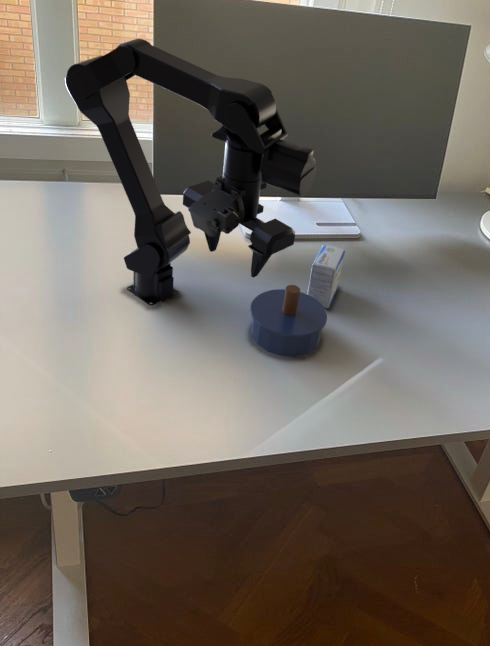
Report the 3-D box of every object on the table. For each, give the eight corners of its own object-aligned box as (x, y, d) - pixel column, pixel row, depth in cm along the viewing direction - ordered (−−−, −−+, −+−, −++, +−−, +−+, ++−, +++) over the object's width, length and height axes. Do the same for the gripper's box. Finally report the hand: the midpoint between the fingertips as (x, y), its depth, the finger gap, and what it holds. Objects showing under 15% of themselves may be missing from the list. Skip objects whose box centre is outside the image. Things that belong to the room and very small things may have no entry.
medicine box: (328, 309, 131) (336, 270, 126) (304, 303, 131) (312, 263, 126) (337, 288, 138) (346, 249, 132) (315, 281, 138) (322, 242, 132)
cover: (233, 312, 118) (236, 284, 114) (284, 285, 127) (289, 258, 123) (292, 350, 113) (297, 322, 110) (341, 320, 122) (347, 293, 118)
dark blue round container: (236, 333, 121) (239, 309, 118) (282, 308, 129) (286, 285, 126) (288, 368, 116) (293, 344, 113) (332, 340, 124) (337, 317, 121)
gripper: (156, 160, 103) (154, 253, 113) (251, 215, 96) (240, 308, 106) (212, 144, 111) (206, 232, 121) (304, 194, 104) (289, 283, 114)
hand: (233, 263), depth 115 cm, fingers open, 9 cm apart
